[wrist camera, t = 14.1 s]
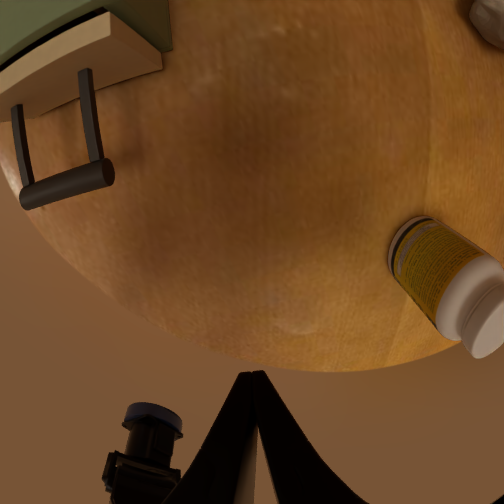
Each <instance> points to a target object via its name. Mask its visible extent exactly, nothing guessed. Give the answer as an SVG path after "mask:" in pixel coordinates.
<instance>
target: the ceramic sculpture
mask: <svg viewBox="0 0 504 504" xmlns="http://www.w3.org/2000/svg"><path fill="white" fill-rule="evenodd" d="M469 17H470V20H471V22H472V24H473V25H474V26H475V27H476V28H477V30H478V32H479V33H480V34H481V36H482V37H483V38H484V39H485V40H486V41H488V42H489V43H491V44H493V45H495V46H497V47H499V48H500V49H502V50H504V0H475V2H474V3H473V4H472V6H471V9H470V12H469Z"/></svg>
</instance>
